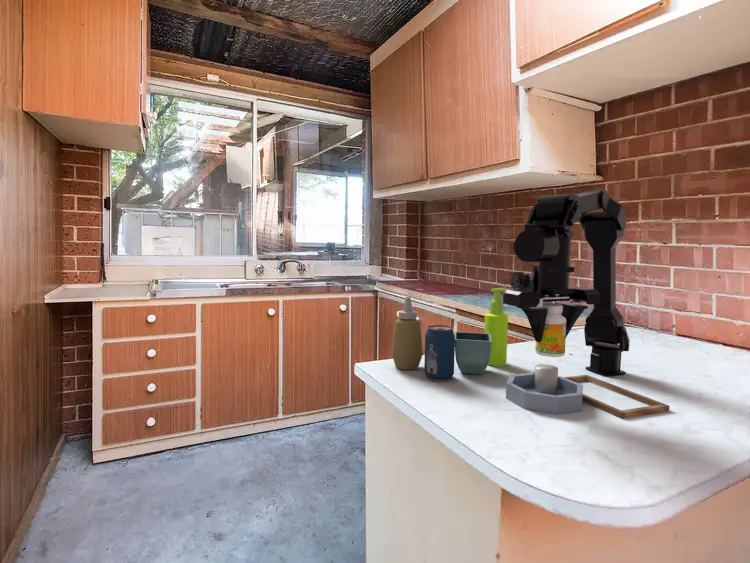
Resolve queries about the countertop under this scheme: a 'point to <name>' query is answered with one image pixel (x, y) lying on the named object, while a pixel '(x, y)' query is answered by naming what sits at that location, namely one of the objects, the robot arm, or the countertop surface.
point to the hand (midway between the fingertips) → (550, 340)
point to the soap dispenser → (497, 329)
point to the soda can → (439, 353)
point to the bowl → (544, 395)
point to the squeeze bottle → (407, 339)
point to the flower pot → (472, 351)
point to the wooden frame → (654, 404)
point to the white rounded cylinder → (546, 378)
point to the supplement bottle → (553, 332)
